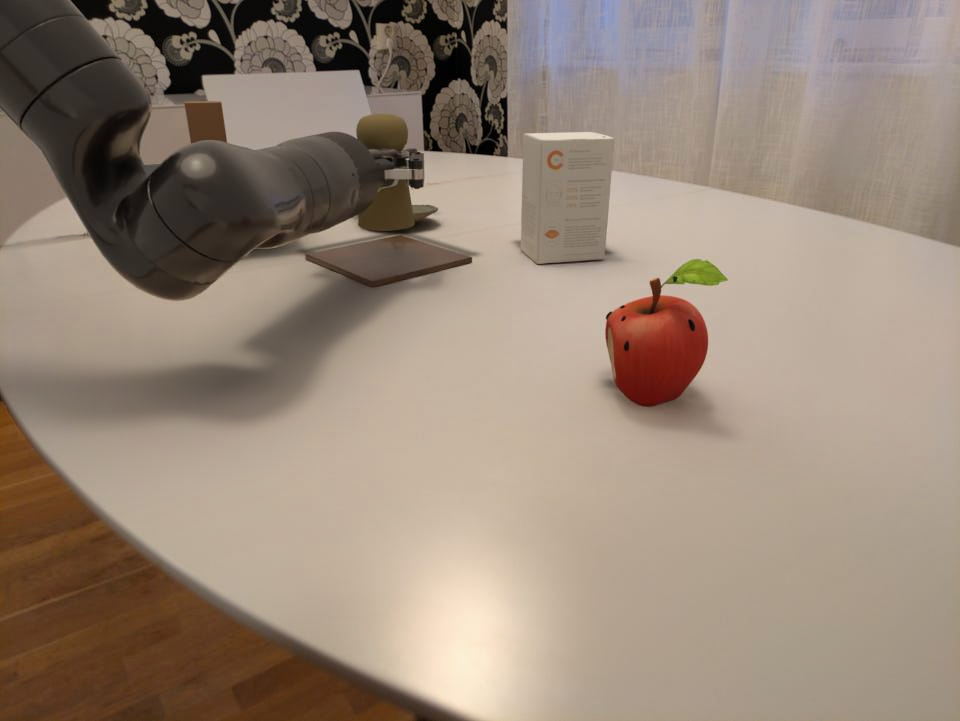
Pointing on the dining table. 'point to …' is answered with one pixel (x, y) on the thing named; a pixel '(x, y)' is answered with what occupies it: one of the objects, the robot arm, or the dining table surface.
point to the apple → (660, 339)
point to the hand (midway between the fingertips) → (393, 157)
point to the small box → (565, 196)
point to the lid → (422, 211)
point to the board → (387, 259)
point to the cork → (390, 202)
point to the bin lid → (202, 123)
